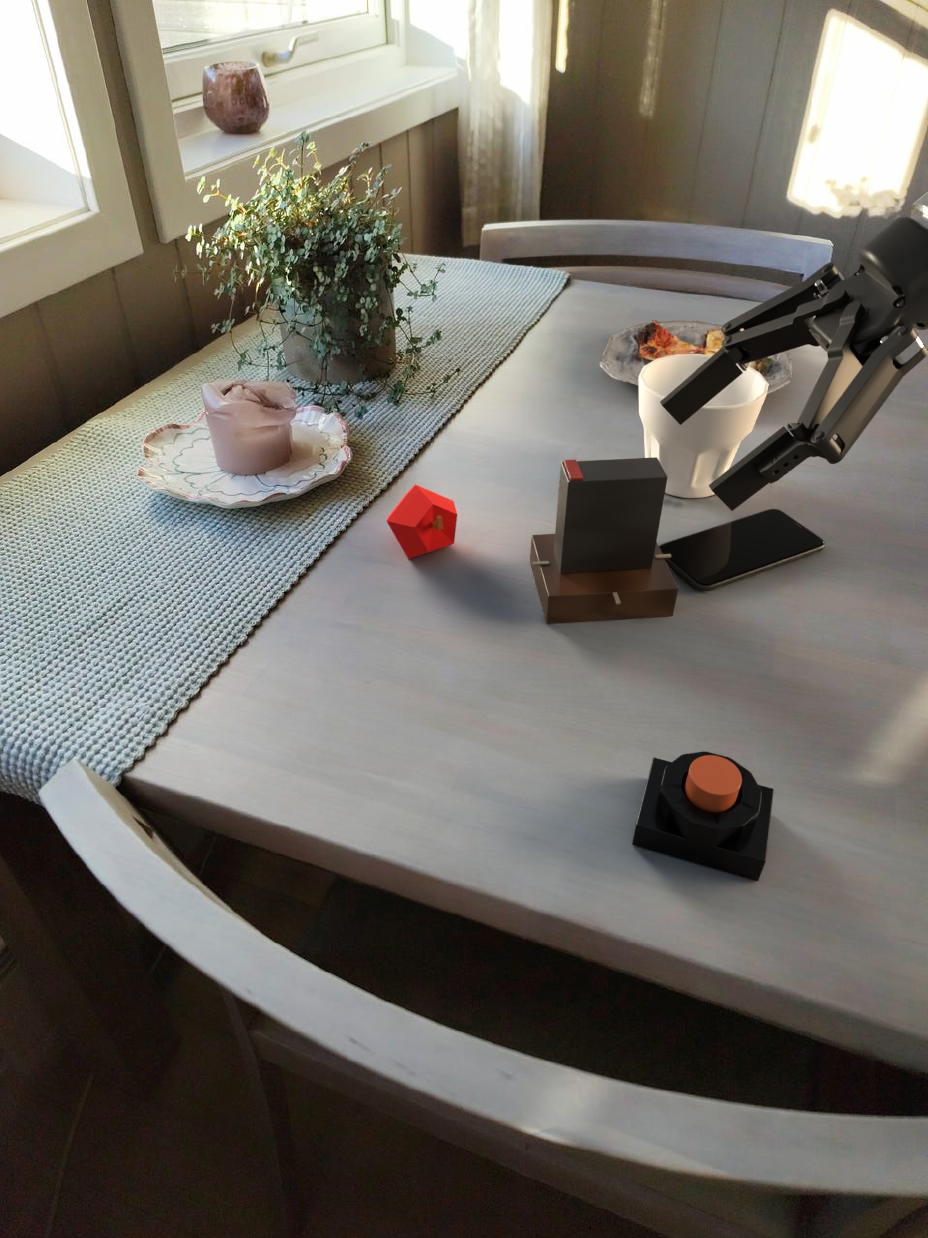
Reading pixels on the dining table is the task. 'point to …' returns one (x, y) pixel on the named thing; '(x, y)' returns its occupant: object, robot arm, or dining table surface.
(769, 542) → the smartphone
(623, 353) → the food plate
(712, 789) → the button
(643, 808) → the button block
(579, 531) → the dark grey block
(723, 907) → the dining table surface
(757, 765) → the dining table surface
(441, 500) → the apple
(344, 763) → the dining table surface
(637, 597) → the base
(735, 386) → the cup
